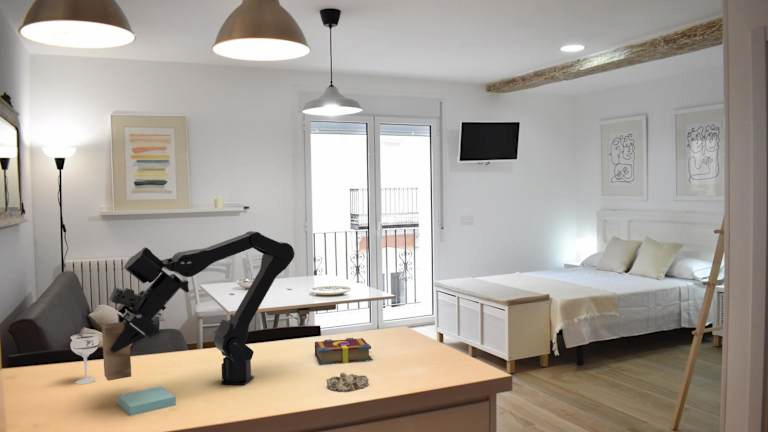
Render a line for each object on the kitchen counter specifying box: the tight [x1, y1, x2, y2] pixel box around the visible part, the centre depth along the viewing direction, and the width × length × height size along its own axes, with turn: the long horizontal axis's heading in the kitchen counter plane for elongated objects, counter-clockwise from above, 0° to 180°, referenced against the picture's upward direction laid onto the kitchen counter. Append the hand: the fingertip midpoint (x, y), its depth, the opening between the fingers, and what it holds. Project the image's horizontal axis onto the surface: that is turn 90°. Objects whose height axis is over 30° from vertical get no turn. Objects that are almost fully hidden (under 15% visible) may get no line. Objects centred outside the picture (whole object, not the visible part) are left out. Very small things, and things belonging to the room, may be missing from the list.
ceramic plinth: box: [117, 385, 177, 417], centre depth 140 cm, size 10×10×2 cm
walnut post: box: [101, 321, 132, 382], centre depth 139 cm, size 5×5×12 cm
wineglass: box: [69, 332, 100, 385], centre depth 158 cm, size 7×7×12 cm
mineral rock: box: [325, 372, 370, 393], centre depth 150 cm, size 11×4×8 cm
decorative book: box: [314, 337, 372, 366], centre depth 177 cm, size 11×16×5 cm
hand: (110, 348), depth 139 cm, fingers closed on walnut post, 5 cm apart
